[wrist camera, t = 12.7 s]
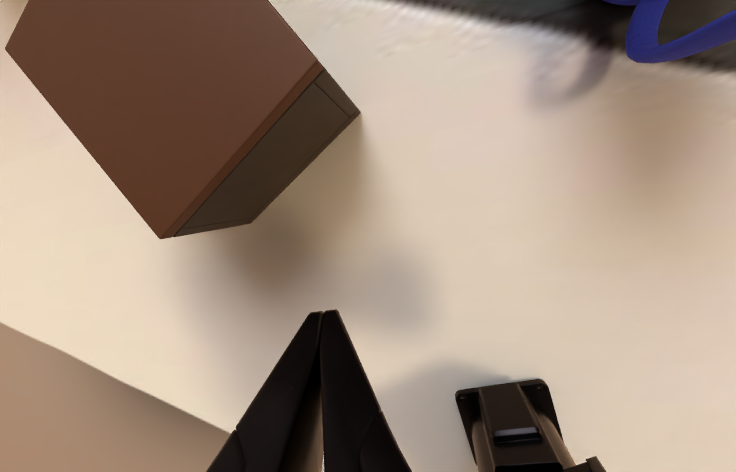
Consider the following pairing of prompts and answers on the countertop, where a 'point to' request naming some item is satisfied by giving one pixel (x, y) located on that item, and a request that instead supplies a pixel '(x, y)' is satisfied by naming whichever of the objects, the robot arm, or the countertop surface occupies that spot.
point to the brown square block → (164, 88)
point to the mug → (647, 49)
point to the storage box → (276, 157)
